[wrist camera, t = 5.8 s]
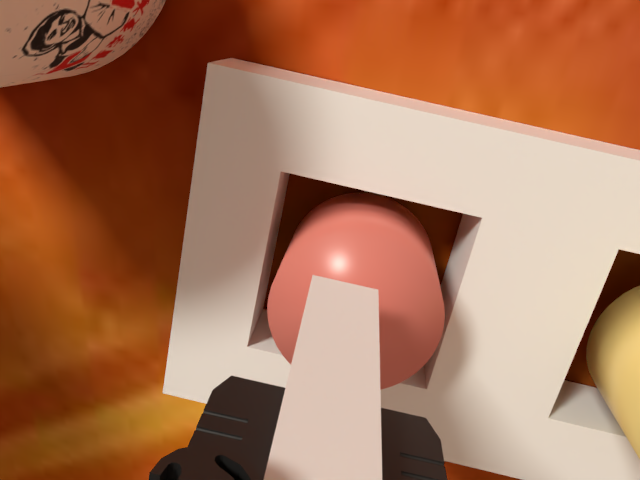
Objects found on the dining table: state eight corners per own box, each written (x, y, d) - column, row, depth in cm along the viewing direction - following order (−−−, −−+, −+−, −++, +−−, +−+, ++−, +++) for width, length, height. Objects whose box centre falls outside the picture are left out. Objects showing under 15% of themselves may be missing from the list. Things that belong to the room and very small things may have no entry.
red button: (276, 308, 19) (253, 370, 16) (303, 177, 17) (284, 213, 14) (411, 340, 19) (417, 409, 15) (450, 211, 17) (467, 256, 14)
